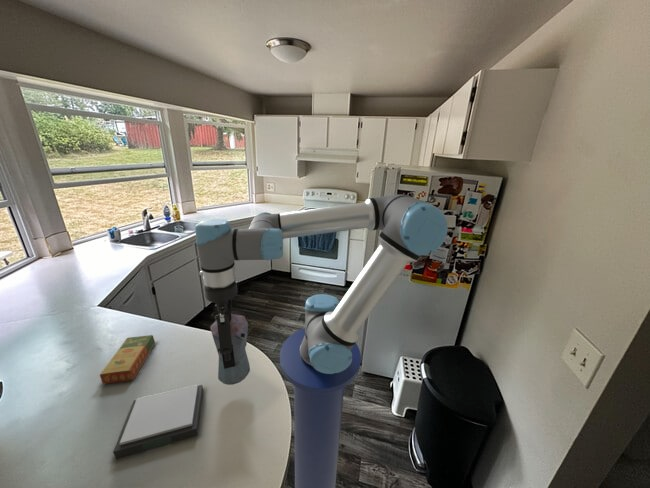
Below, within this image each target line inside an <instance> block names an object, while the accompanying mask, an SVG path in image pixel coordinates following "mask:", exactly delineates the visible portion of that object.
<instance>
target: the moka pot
mask: <svg viewBox="0 0 650 488" xmlns="http://www.w3.org/2000/svg"><path fill="white" fill-rule="evenodd" d="M231 316H232V319H231V320H230V330H231V342H232V345H233V352H234V359H235V367H230V368H226V369H224V365H223V359H222V354H220V351H219V352H218V349H219V348H220V344H219V335H218V325H217V319H216V312H215V311H213V312H212V313H211V315H210V320H211V325H210V327H209V329H210V332H211V336H212V339H213V342H214V345H215V348H216V352H217V355H218V367H217V368H218V370H217V380H218V381H219V382H221V383H222V384H223V385H228V386H233V385H236V384H238V383H241V382H243V381H244V380H245V379H246V378H247V376H248V375H249V373H250V372H251V366H250V361H249V357H248V353H247V350H246V347H247V344H248V332H249V323H248V321H247V319H246V317H245V315H240V314H236V313H235V314H233V313H232V314H231ZM228 317H229V316H228Z"/></svg>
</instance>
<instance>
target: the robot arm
mask: <svg viewBox="0 0 650 488" xmlns="http://www.w3.org/2000/svg"><path fill="white" fill-rule="evenodd" d="M448 227H449V226H448V221H447V217H446V215H445V214H444V212H443V211H442V210H441V209H440V208H438V207H437V206H435V205H433V204H432V203H430V202H428V201H424V200H422V199H419V198H415V197H414V196H411V195H409V194H389V195H383V196H377V197H369V198H366V199H365V200H364V201H363V202H357V203H349V204H341V205H334V206H326V207H319V208H311V209H302V210H296V211H287V212H280V213H271V212H267V211H263V212H259V213H258V214H256V215H255V216H254V217H253V218H252V220H251V222H250V223H249V227H248V228H232V226H231V223H230V221H229V220H228V219H222V218H209V219H204V220H202V221H200V222H198V223H197V224H196V225H195V227H194V229H195V239H196V240H195V244H196V247H197V251H198V257H199V264H200V269H201V271H199V272H198V274H199V276H202V282H203V284H204V285H203V288H204V293H205V294H204V296H205V299H206V300H207V301H209V302H211V303H214V312H215V313H216V319H217V325H218V335H219V344H220V348H219V349H218V352H219V351H220V354H222V359H223V365H224V369H226V368H230V367H235V359H234V352H233V345H232V342H231V330H230V320H231V319H232V316H231V314H236V313H233V311H234V310H233V305H232V304H233V299H234V298H235V297H237V294H238V291H239V289H238V281H237V271H236V263H235V261H270V260H277V259H278V260H279V259H281V258H283V255H284V240H285V239H293V238H300V237H308V236H316V235H322V234H331V233H338V232H339V233H340V232H346V231H354V230H361V229H368V231H381V232H380V233H379V235H378V241H379V242H378V243H379V244H378V246H377V248H376V249H375V251H374V252H373V253H372V255H371V256H370V258H369V259H368V260H367V262H366V264H365V265H364V266H363V268H362V270H361V271H360V272H359V274H358V275H357V277H356V278H355V280H354V281H353V282H352V284H351V286H350V287H349V288H348V290H347V291H346V292H345V294H344V295H343V297H342V299H341V300H339V299H338V298H337V297H335V296H334V295H331V294H324V293H323V294H314V295H311V296H310V297H308V298H307V299H306V301H305V305H304V310H305V311H304V312H305V313H304V314H305V315H304V328H305V336H304V339H303V341H302V343H301V346H300V357H301V359H302V361H303V362H304V363H305V364H306V365H307V366H309V367H311V368H314V369H316V370H317V371H319V372H321V373H325V374H334V373H339V372H341V371H343V370H345V369H346V368H348V367H349V365H350V364H351V362H352V352H351V348H352V347H353V346H354V344H355V343H356V344H357V342H358V340H359V338H360V335H359V330H360V328H361V327H362V326H363V325H364V323H365V322H366V320H367V319H368V317H370V315H371V314H372V312H373V311H374V309H375V308H376V307H377V305H378V304H379V302H380V301H381V300H382V299H383V297H384V296H385V294H386V293H387V292H388V290H389V289H391V287H392V285H393V284H394V282H395V281H396V280H397V278H398V277H399V276H400V275H401V273H402V272H403V270H404V269H405V267H406V266H407V265H408V264H410V263H417V262H418V260H419V259H420V257H422V256H427V255H429V254H430V253H435V252H436V251H437V250H438V249H440V247H442V245H443V244H444V242H445V241H446V238H447V235H448V229H449V228H448ZM228 316H229V317H228ZM218 352H217V353H218Z"/></svg>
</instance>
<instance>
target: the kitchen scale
mask: <svg viewBox="0 0 650 488" xmlns="http://www.w3.org/2000/svg"><path fill="white" fill-rule="evenodd" d="M203 398H204V385H203V384H194V385H193V384H192V385H189V386H184V387H180V388H176V389H172V390H167V391H163V392H158V393H154V394H150V395H145V396H141V397H137V398H136V399H134V400H133V402H132V404H131V405H130V409H129V411H128V413H127V416H126V419H125V422H124V424H123V426H122V429H121V431H120V435H119V436H118V439H117V441H116V444H115V446H114V449H113V451H112V453H113V455H114V458H115V460H118V459H121V458H124V457H127V456H130V455H134V454H139V453H142V452H145V451H148V450H152V449H155V448H159V447H162V446H165V445H169V444H173V443H175V442H176V443H177V442H180V441H182V440H186V439H189V438H194V437H197V436H199V430H200V429H199V428H200V421H201V420H200V419H201V414H202V413H201V412H202V406H203V405H202V404H203Z"/></svg>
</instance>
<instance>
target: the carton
mask: <svg viewBox="0 0 650 488" xmlns="http://www.w3.org/2000/svg"><path fill="white" fill-rule="evenodd" d="M155 345H156V341H155V338H154V335H153V334H149V335H140V336H131V337H126V339H125V340H124V341H123V343H122V344H121V346H120V347H119V348H118V349H117V351H116V352H115V353H114V355H113V356H112V357H111V359H110V360H109V362H108V363H107V364H106V366H105V367H104V368H103V370H102V371H101V372H100V373H99V377H100V380H101V383H102V385H106V384H116V383H121V382H130V381H134V379H135V378H136V377H137V374H138V373H139V371H140V370H141V368H142V366H143V364H144V362H145V361H146V360H147V358H148V356H149V354H150V353H151V352H152V349H153V348H154V346H155Z"/></svg>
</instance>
